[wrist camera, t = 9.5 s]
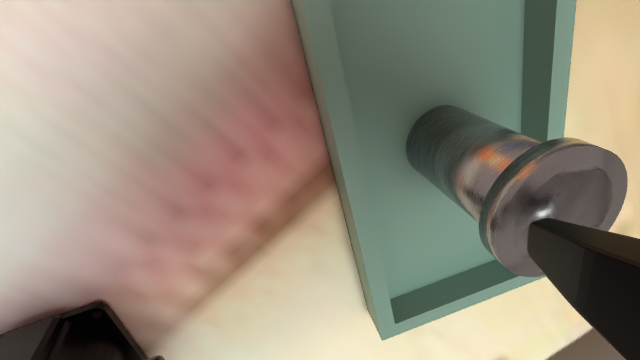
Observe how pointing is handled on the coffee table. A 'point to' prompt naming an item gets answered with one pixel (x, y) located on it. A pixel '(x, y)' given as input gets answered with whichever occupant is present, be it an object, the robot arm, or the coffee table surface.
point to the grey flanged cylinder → (515, 179)
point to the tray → (402, 113)
